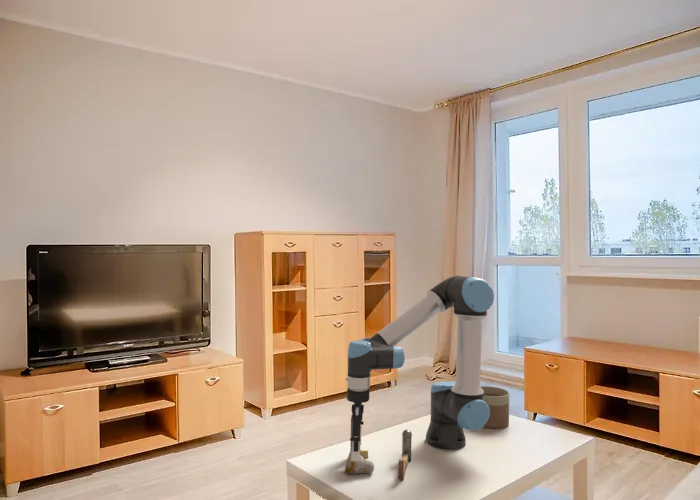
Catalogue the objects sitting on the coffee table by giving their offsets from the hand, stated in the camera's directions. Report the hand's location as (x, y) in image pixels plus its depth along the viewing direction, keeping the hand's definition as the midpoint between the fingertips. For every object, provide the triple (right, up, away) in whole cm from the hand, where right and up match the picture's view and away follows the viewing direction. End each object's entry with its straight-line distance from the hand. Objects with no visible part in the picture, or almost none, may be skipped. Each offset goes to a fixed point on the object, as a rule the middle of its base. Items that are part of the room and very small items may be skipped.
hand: (356, 452), depth 171 cm
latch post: (+1, -7, +12) cm, 14 cm away
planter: (+58, -8, +51) cm, 77 cm away
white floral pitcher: (+1, -7, +1) cm, 8 cm away
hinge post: (+18, -7, +11) cm, 22 cm away
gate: (+16, -7, +2) cm, 17 cm away
